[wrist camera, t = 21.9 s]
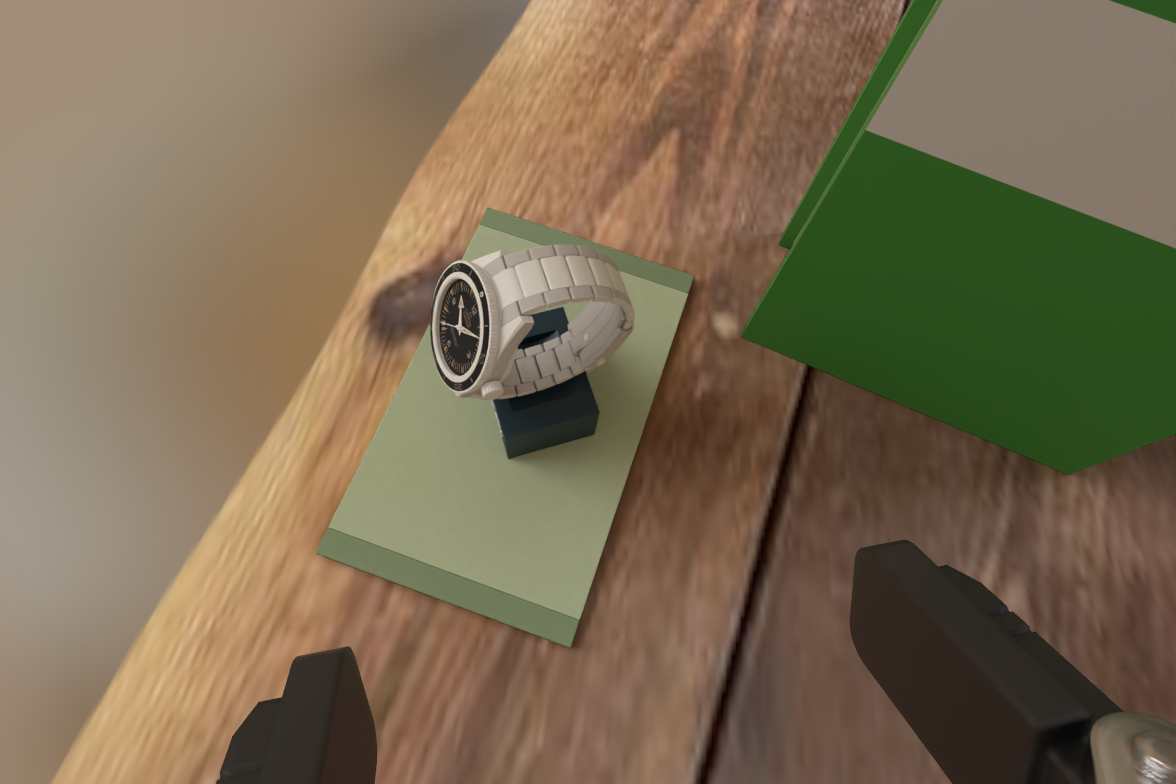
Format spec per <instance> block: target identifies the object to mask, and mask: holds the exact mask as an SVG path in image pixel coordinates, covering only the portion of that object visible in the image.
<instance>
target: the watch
mask: <svg viewBox="0 0 1176 784" xmlns="http://www.w3.org/2000/svg"><path fill="white" fill-rule="evenodd" d="M529 253H530V255H529ZM530 256H531V258H530ZM531 259H532V260H531ZM542 269H543V270H542ZM543 272H544V273H543ZM544 298H545V300H544ZM590 300H592V301H591V302H590V303H589V304H588V306H587V307H586V308H585V309H584V310H583V311H582V312H581V313H580V314H579V315H578V316H577V317H576V318H575V319H574V320H572V321H571V322H570V323H569V322H568V319H567V316H566V313H565V310H564V307H560V308H556V309H552V310H548V311H544V312H540V313H536V314H532V313H535V312H538V311H541V310H543V309H545V308H546V304H547V307H548V308H552V307H555V306H559V305H563V304H567V303H569V302H570V301H571V302H572V303H576V302H586V301H590ZM545 301H546V303H545ZM530 314H532V315H530ZM527 315H528V316H527ZM634 317H635V312H634V309H633V306H632V304H631V301H630V298H629V296H628V293H627V290H626V288H625V285H624V283H623V280H622V278H621V275H620V273H619V270H618V268H617V265H616V264H615V262H614V261H613V260H612V259H610V258H609V257H608V256H607V255H605V254H604V253H602V252H599V251H595V250H594V249H592V248H589V247H585V246H575V245H554V246H551V245H550V246H541V247H535V248H530V249H529V252H528V250H522V251H518V252H514V253H512V252H511V251H509V250H500V251H497V252H494V253H491V254H488V255H485V256H483V257H480V258H478V259H476V260H473V261H471V262H470V261H464V260H459V261H456V262H453V263H452V264H450V266H448V267H447V269H446V270H445V271H444V272H443V274H442V276H441V277H440V279H439V282H438V284H437V287H436V290H435V293H434V297H433V302H432V307H431V316H430V339H431V348H432V353H433V358H434V361H435V365H436V368H437V371H438V373H439V375H440V377H441V379H442V380H443V382H444V384H445V385H446V386H447V387H448V388H449V389H450V390H451V391H453V392H454V393H455V395H456V396H457V397H459V398H467V397H468V398H474V399H479V398H480V399H481V400H491V401H492V405H493V408H494V412H495V415H496V419H497V422H498V426H499V429H500V433H501V436H502V440H503V443H504V447H505V450H506V454H507V457H508V459H510V458H514V457H517V456H521V455H524V454H528V453H531V452H535V451H539V450H542V449H546V448H549V447H553V446H556V445H560V444H563V443H567V442H570V441H574V440H577V439H581V438H584V437H588V436H591V435H594V434H595V430H596V426H597V421H598V417H599V413H600V412H599V409H598V406H597V403H596V400H595V397H594V394H593V391H592V388H591V386H590V383H589V380H588V377H587V374H586V371H588V372H589V373H590V372H591V371H592V370H594V369H595V368H596V367H598V366H600V365H602V364H603V363H605V361H606V359H607V358H609V357H610V356H611V355H612V354H613V353H614V352H615V351H616V350H617V349H618V348H619V347H620V346H621V345H622V344H623V342H624V341H625V340H626V339H627V338H628V336H629V335H630V334H631V332H632V331H633V329H634V328H635V327H634Z"/></svg>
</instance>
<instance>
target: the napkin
mask: <svg viewBox="0 0 1176 784" xmlns="http://www.w3.org/2000/svg"><path fill="white" fill-rule="evenodd" d="M550 245H551V246H554V245H575V246H585V247H589V248H592V249H594V250H595V251H599V252H602V253H604V254H605V255H607V256H608V257H609V258H610V259H612V260H613V261H614V262H615V264H616V265H617V268H618V270H619V273H620V275H621V278H622V280H623V283H624V285H625V288H626V290H627V293H628V296H629V298H630V301H631V304H632V306H633V309H634V312H635V317H634V327H635V328H634V329H633V331H632V332H631V334H630V335H629V336H628V338H627V339H626V340H625V341H624V342H623V344H622V345H621V346H620V347H619V348H618V349H617V350H616V351H615V352H614V353H613V354H612V355H611V356H610V357H609V358H607V359H606V361H605V363H603V364H602V365H600V366H598V367H596V368H595V369H594V370H592V371H591V372H590V373H589V372H588V371H586V374H587V377H588V380H589V383H590V386H591V388H592V391H593V394H594V397H595V400H596V403H597V406H598V409H599V412H600V413H599V417H598V421H597V426H596V430H595V434H594V435H591V436H588V437H584V438H581V439H577V440H574V441H570V442H567V443H563V444H560V445H556V446H553V447H549V448H546V449H542V450H539V451H535V452H531V453H528V454H524V455H521V456H517V457H514V458H510V459H508V457H507V454H506V450H505V447H504V443H503V440H502V436H501V433H500V429H499V426H498V422H497V419H496V415H495V412H494V408H493V405H492V401H491V400H481V399H480V398H479V399H474V398H468V397H467V398H459V397H457V396H456V395H455V393H454V392H453V391H451V390H450V389H449V388H448V387H447V386H446V385H445V384H444V382H443V380H442V379H441V377H440V375H439V373H438V371H437V368H436V365H435V361H434V358H433V353H432V348H431V339H430V324H429V326H428V328H427V330H426V332H425V334H424V336H423V338H422V340H421V342H420V344H419V346H418V348H417V350H416V352H415V354H414V356H413V358H412V360H411V362H410V364H409V366H408V368H407V370H406V372H405V374H404V376H403V378H402V380H401V382H400V384H399V386H398V388H397V390H396V392H395V394H394V396H393V398H392V400H391V402H390V404H389V406H388V408H387V410H386V412H385V414H384V416H383V418H382V420H381V422H380V424H379V426H378V428H377V430H376V432H375V434H374V437H373V439H372V441H371V443H370V445H369V447H368V449H367V451H366V453H365V455H364V457H363V459H362V461H361V463H360V465H359V467H358V469H357V471H356V473H355V475H354V477H353V479H352V481H351V483H350V485H349V487H348V489H347V491H346V493H345V495H344V497H343V499H342V501H341V503H340V505H339V507H338V509H337V511H336V513H335V515H334V517H333V519H332V521H331V523H330V525H329V528H328V529H327V531H326V533H325V535H324V537H323V539H322V541H321V543H320V545H319V547H318V549H317V551H316V553H317V554H319V555H321V556H324V557H327V558H329V559H332V560H335V561H337V562H340V563H343V564H345V565H348V566H351V567H353V568H356V569H359V570H361V571H364V572H367V573H370V574H372V575H375V576H378V577H380V578H383V579H386V580H388V581H391V582H394V583H396V584H399V585H402V586H404V587H407V588H410V589H413V590H415V591H418V592H421V593H423V594H426V595H429V596H431V597H434V598H437V599H439V600H442V601H445V602H447V603H450V604H453V605H455V606H458V607H461V608H464V609H466V610H469V611H472V612H474V613H477V614H480V615H482V616H485V617H488V618H490V619H493V620H496V621H498V622H501V623H504V624H507V625H509V626H512V627H515V628H517V629H520V630H523V631H525V632H528V633H531V634H533V635H536V636H539V637H541V638H544V639H547V640H549V641H552V642H555V643H558V644H560V645H563V646H566V647H568V648H570V647H571V645H572V642H573V639H574V636H575V633H576V630H577V627H578V624H579V620H580V618H581V615H582V612H583V609H584V606H585V603H586V600H587V597H588V594H589V591H590V588H591V585H592V582H593V579H594V576H595V573H596V570H597V567H598V564H599V561H600V558H601V555H602V552H603V549H604V546H605V543H606V540H607V537H608V534H609V531H610V528H611V525H612V522H613V519H614V516H615V513H616V510H617V507H618V504H619V501H620V498H621V495H622V492H623V489H624V486H625V483H626V480H627V477H628V474H629V471H630V468H631V465H632V462H633V459H634V456H635V453H636V450H637V447H638V444H639V441H640V438H641V435H642V432H643V429H644V426H645V423H646V420H647V417H648V414H649V411H650V408H651V405H652V402H653V399H654V396H655V393H656V390H657V387H658V384H659V381H660V378H661V375H662V372H663V369H664V366H665V363H666V360H667V357H668V354H669V351H670V348H671V345H672V342H673V339H674V336H675V333H676V330H677V327H678V324H679V321H680V318H681V315H682V312H683V309H684V306H685V303H686V300H687V297H688V294H689V291H690V288H691V285H692V282H693V279H694V275H691V274H688V273H685V272H682V271H679V270H676V269H673V268H670V267H667V266H664V265H661V264H658V263H655V262H652V261H649V260H645V259H642V258H639V257H636V256H633V255H630V254H627V253H624V252H621V251H618V250H615V249H612V248H609V247H606V246H603V245H600V244H597V243H594V242H591V241H588V240H585V239H582V238H579V237H576V236H573V235H570V234H567V233H564V232H561V231H558V230H554V229H551V228H548V227H545V226H542V225H539V224H536V223H533V222H530V221H527V220H524V219H521V218H518V217H515V216H512V215H509V214H506V213H503V212H500V211H497V210H494V209H491V208H487V210H486V212H485V214H484V216H483V218H482V220H481V222H480V225H479V226H478V228H477V230H476V232H475V234H474V236H473V238H472V240H471V242H470V244H469V246H468V248H467V250H466V252H465V254H464V256H463V258H462V260H464V261H470V262H471V261H473V260H476V259H478V258H480V257H483V256H485V255H488V254H491V253H494V252H497V251H500V250H509V251H511V252H512V253H514V252H518V251H522V250H528V252H529V249H530V248H535V247H541V246H550ZM529 255H530V253H529ZM530 258H531V256H530ZM531 260H532V259H531ZM542 270H543V269H542ZM543 273H544V272H543ZM544 300H545V298H544ZM591 301H592V300H590V301H586V302H576V303H572V302H571V301H570V302H569V303H567V304H563V305H559V306H555V307H552V308H548V307H547V304H546V308H545V309H543V310H541V311H538V312H535V313H532V314H536V313H540V312H544V311H548V310H552V309H556V308H560V307H564V310H565V313H566V316H567V319H568V322H569V323H570V322H571V321H572V320H574V319H575V318H576V317H577V316H578V315H579V314H580V313H581V312H582V311H583V310H584V309H585V308H586V307H587V306H588V304H589V303H590V302H591ZM545 303H546V301H545ZM532 314H530V315H532ZM527 316H528V315H527Z"/></svg>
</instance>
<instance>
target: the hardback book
mask: <svg viewBox="0 0 1176 784" xmlns="http://www.w3.org/2000/svg"><path fill="white" fill-rule="evenodd" d="M779 245H782V246H784V247H787V248H789V249H790V251H789V253H788V254H787V256H786V258H785V259H784V261H783V263H782V264H781V266H780V268H779V270H778V271H777V273H776V275H775V276H774V278H773V280H772V281H771V283H770V285H769V286H768V288H767V290H766V292H765V293H764V295H763V297H762V298H761V300H760V302H759V303H758V305H757V307H756V308H755V310H754V312H753V313H752V315H751V317H750V319H749V320H748V322H747V324H746V326H745V329H744V331H743V334H742V336H741V337H743V338H745V339H748V340H750V341H752V342H755V343H757V344H759V345H762V346H764V347H767V348H769V349H771V350H774V351H776V352H778V353H781V354H783V355H786V356H788V357H790V358H793V359H795V360H797V361H800V362H802V363H805V364H807V365H809V366H812V367H814V368H816V369H819V370H821V371H823V372H826V373H828V374H831V375H833V376H835V377H838V378H840V379H842V380H845V381H847V382H850V383H852V384H854V385H857V386H859V387H861V388H864V389H866V390H869V391H871V392H873V393H876V394H878V395H880V396H883V397H885V398H888V399H890V400H892V401H895V402H897V403H899V404H902V405H904V406H907V407H909V408H911V409H914V410H916V411H918V412H921V413H923V414H926V415H928V416H930V417H933V418H935V419H937V420H940V421H942V422H944V423H947V424H949V425H952V426H954V427H956V428H959V429H961V430H963V431H966V432H968V433H971V434H973V435H975V436H978V437H980V438H982V439H985V440H987V441H990V442H992V443H994V444H997V445H999V446H1001V447H1004V448H1006V449H1009V450H1011V451H1013V452H1016V453H1018V454H1020V455H1023V456H1025V457H1028V458H1030V459H1032V460H1035V461H1037V462H1039V463H1042V464H1044V465H1047V466H1049V467H1051V468H1054V469H1056V470H1058V471H1061V472H1063V473H1065V474H1068V475H1069V474H1072V473H1074V472H1077V471H1080V470H1082V469H1085V468H1088V467H1090V466H1093V465H1096V464H1098V463H1101V462H1104V461H1106V460H1109V459H1112V458H1114V457H1117V456H1120V455H1122V454H1125V453H1128V452H1130V451H1133V450H1136V449H1138V448H1141V447H1144V446H1146V445H1149V444H1152V443H1154V442H1157V441H1160V440H1162V439H1165V438H1168V437H1170V436H1173V435H1176V0H912V1H911V3H910V5H909V7H908V8H907V10H906V12H905V14H904V16H903V17H902V19H901V21H900V23H899V25H898V26H897V28H896V30H895V32H894V34H893V35H892V37H891V39H890V41H889V43H888V44H887V46H886V48H885V50H884V52H883V54H882V55H881V57H880V59H879V61H878V63H877V64H876V66H875V68H874V70H873V72H872V73H871V75H870V77H869V79H868V81H867V82H866V84H865V86H864V88H863V90H862V91H861V93H860V95H859V97H858V99H857V101H856V102H855V104H854V106H853V108H852V110H851V111H850V113H849V115H848V117H847V119H846V120H845V122H844V124H843V126H842V128H841V129H840V131H839V133H838V135H837V137H836V138H835V140H834V142H833V144H832V146H831V148H830V149H829V151H828V153H827V155H826V157H825V158H824V160H823V162H822V164H821V166H820V167H819V169H818V171H817V173H816V175H815V176H814V178H813V180H812V182H811V184H810V185H809V187H808V189H807V191H806V193H805V195H804V196H803V198H802V200H801V202H800V204H799V205H798V207H797V209H796V211H795V213H794V214H793V216H792V218H791V220H790V222H789V223H788V225H787V227H786V229H785V231H784V233H783V235H782V238H781V240H780V242H779Z"/></svg>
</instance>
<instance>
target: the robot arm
mask: <svg viewBox="0 0 1176 784" xmlns="http://www.w3.org/2000/svg"><path fill="white" fill-rule="evenodd" d="M850 630H851V635H852V639H853V642H854V645H855V648H856V650H857V652H858V654H859V656H860V658H861V660H862V661H863V663H864V664H865V666H866V667H867V668H868V670H869V671H870V672H871V674H872V675H873V676H874V678H875V679H876V681H877V682H878V683H879V685H880V686H881V687H882V689H883V690H884V691H885V693H886V694H887V695H888V697H889V698H890V699H891V701H892V702H893V704H894V705H895V706H896V708H897V709H898V710H899V712H900V713H901V714H902V716H903V717H904V718H905V720H906V721H907V723H908V724H909V725H910V727H911V728H912V729H913V731H914V732H915V733H916V735H917V736H918V737H919V739H920V740H921V741H922V743H923V744H924V746H925V747H926V748H927V750H928V751H929V752H930V754H931V755H932V756H933V758H934V759H935V760H936V762H937V763H938V765H939V766H940V767H941V769H942V770H943V771H944V773H945V774H946V775H947V777H948V778H949V779H950V781H951V782H952V784H1176V724H1174V723H1172V722H1169V721H1167V720H1164V719H1162V718H1158V717H1155V716H1152V715H1147V714H1142V713H1135V712H1124V711H1123V710H1122V709H1120V708H1119V707H1118V706H1117V705H1116V704H1115V703H1114V702H1112V701H1111V700H1110V699H1109V698H1108V697H1107V696H1106V695H1105V694H1104V693H1102V692H1101V691H1100V690H1099V689H1098V688H1097V687H1096V686H1095V685H1094V684H1093V683H1091V682H1090V681H1089V680H1088V679H1087V678H1086V677H1085V676H1084V675H1083V674H1081V673H1080V672H1079V671H1078V670H1077V669H1076V668H1075V667H1074V666H1073V665H1071V664H1070V663H1069V662H1068V661H1067V660H1066V659H1065V658H1064V657H1063V656H1061V655H1060V654H1059V653H1058V652H1057V651H1056V650H1055V649H1054V648H1053V647H1052V646H1050V645H1049V644H1048V643H1047V642H1046V641H1045V640H1044V639H1043V638H1042V637H1040V636H1039V635H1038V634H1037V633H1036V632H1031V631H1030V628H1029V626H1028V625H1027V624H1026V623H1025V622H1024V621H1023V620H1022V619H1021V618H1019V617H1018V616H1017V615H1016V614H1015V613H1014V612H1009V611H1008V608H1007V606H1006V605H1005V604H1004V603H1003V602H1002V601H1001V600H999V599H998V598H997V597H996V596H995V595H994V594H993V593H992V592H991V591H990V590H988V589H987V588H986V587H985V586H984V585H983V584H982V583H980V582H978V581H976V580H975V579H973V578H971V577H969V576H967V575H965V574H963V573H961V572H959V571H957V570H955V569H954V568H952V567H950V566H948V565H944V566H939V567H938V566H937V565H936V564H935V563H934V562H932V561H931V560H930V559H929V558H928V557H927V556H926V555H925V554H924V553H923V552H922V551H921V550H920V549H919V548H918V547H917V546H916V545H914V544H913V543H912V542H910V541H907V540H900V541H895V542H890V543H884V544H879V545H874V546H869V547H864V548H861V549H859V550H858V552H857V553H856V557H855V565H854V577H853V589H852V601H851V613H850ZM376 765H377V742H376V732H375V725H374V721H373V717H372V713H371V710H370V707H369V703H368V700H367V696H366V693H365V689H364V686H363V683H362V679H361V676H360V672H359V669H358V666H357V662H356V659H355V656H354V653H353V651H352V649H351V648H350V647H342V648H337V649H332V650H327V651H322V652H317V653H312V654H306V655H301V656H297V657H296V658H295V659H294V660H293V662H292V665H291V668H290V672H289V675H288V679H287V682H286V686H285V689H284V693H283V696H282V697H281V698H277V699H272V700H267V701H262V702H258V704H257V705H256V706H255V708H254V709H253V710H252V712H251V713H250V714H249V715H248V717H247V718H246V719H245V721H244V722H243V723H242V724H241V726H240V727H239V728H238V730H237V731H236V732H235V734H234V735H233V736H232V739H231V742H230V745H229V748H228V751H227V754H226V757H225V759H224V762H223V765H222V768H221V771H220V779H219V780H217V782H216V784H375V775H376Z"/></svg>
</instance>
